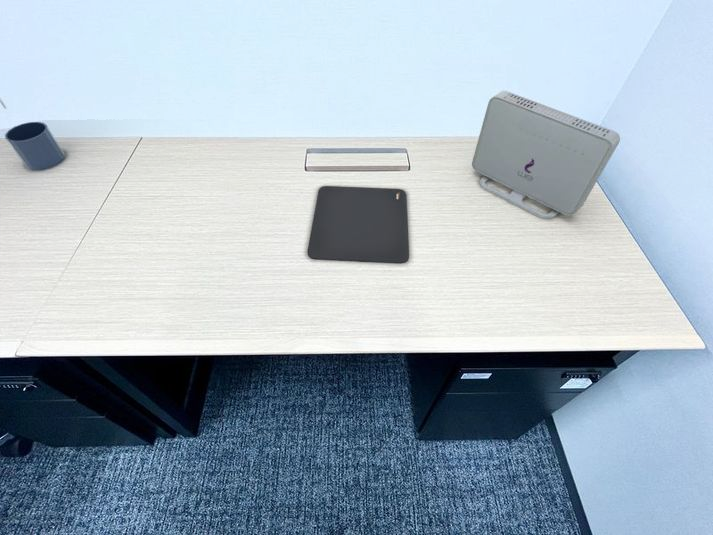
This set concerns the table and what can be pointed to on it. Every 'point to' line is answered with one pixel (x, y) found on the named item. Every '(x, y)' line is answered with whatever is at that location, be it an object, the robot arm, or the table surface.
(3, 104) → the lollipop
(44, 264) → the table surface
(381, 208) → the mouse pad
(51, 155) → the cup
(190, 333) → the table surface
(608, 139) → the network device
